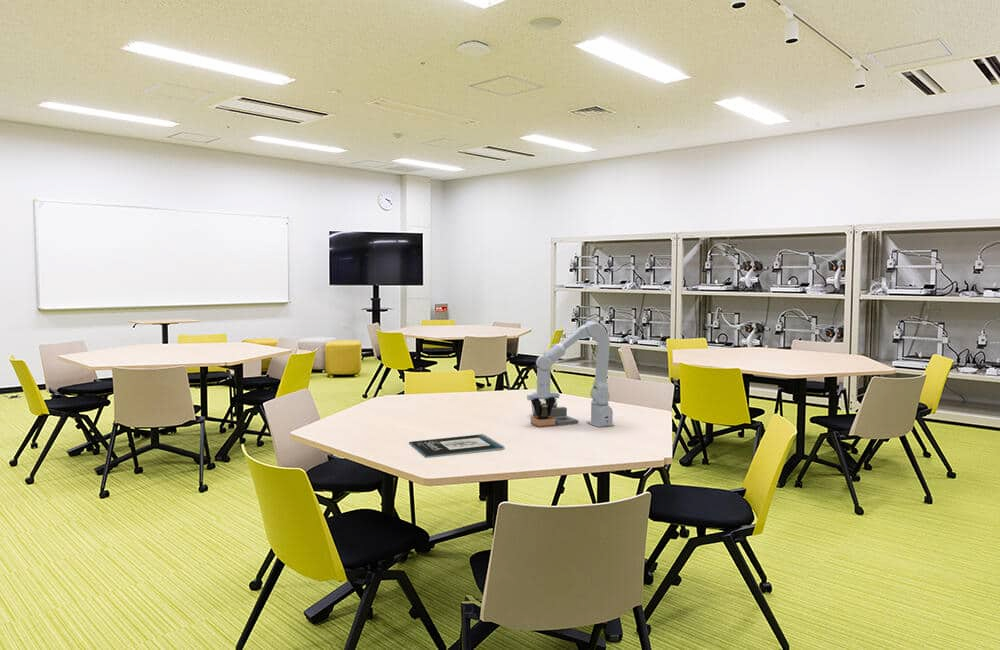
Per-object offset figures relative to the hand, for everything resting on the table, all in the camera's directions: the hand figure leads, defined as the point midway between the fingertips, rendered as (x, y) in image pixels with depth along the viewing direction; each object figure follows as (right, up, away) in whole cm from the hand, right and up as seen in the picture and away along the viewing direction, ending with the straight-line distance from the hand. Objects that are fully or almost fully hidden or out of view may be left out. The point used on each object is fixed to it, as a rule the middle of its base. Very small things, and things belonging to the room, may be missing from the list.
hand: (543, 415), depth 285 cm
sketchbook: (-34, -7, -37) cm, 51 cm away
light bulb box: (+1, 0, +20) cm, 20 cm away
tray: (0, -4, 0) cm, 4 cm away
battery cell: (0, -3, 0) cm, 3 cm away
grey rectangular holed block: (+8, -3, +7) cm, 11 cm away
